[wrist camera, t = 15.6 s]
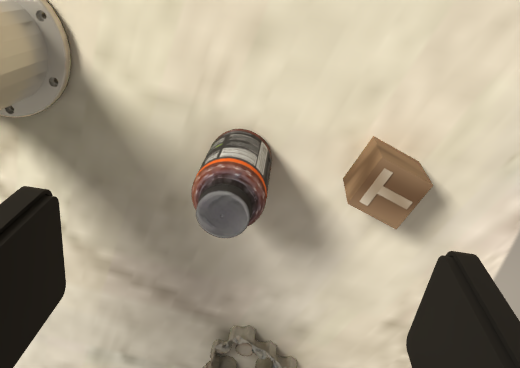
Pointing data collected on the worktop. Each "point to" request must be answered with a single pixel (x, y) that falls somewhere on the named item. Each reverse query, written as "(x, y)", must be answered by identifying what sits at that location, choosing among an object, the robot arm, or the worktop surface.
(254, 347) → the egg carton
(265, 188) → the supplement bottle
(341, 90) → the worktop surface
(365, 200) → the letter t block
